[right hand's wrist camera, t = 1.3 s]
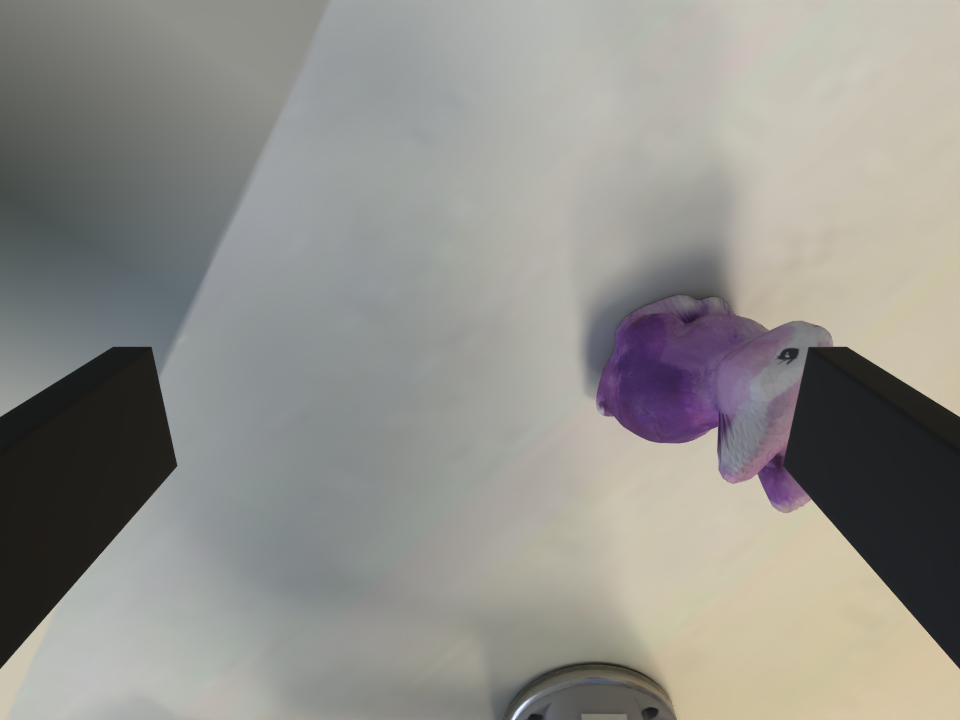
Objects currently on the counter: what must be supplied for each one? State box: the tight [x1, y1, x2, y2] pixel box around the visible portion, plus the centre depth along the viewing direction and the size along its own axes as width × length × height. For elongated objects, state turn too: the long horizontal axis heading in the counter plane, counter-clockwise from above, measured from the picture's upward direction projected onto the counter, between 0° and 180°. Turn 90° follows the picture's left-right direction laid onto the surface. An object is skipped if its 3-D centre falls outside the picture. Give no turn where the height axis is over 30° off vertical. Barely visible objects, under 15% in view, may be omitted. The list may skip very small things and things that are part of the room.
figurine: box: [596, 295, 833, 513], centre depth 33 cm, size 9×10×15 cm
